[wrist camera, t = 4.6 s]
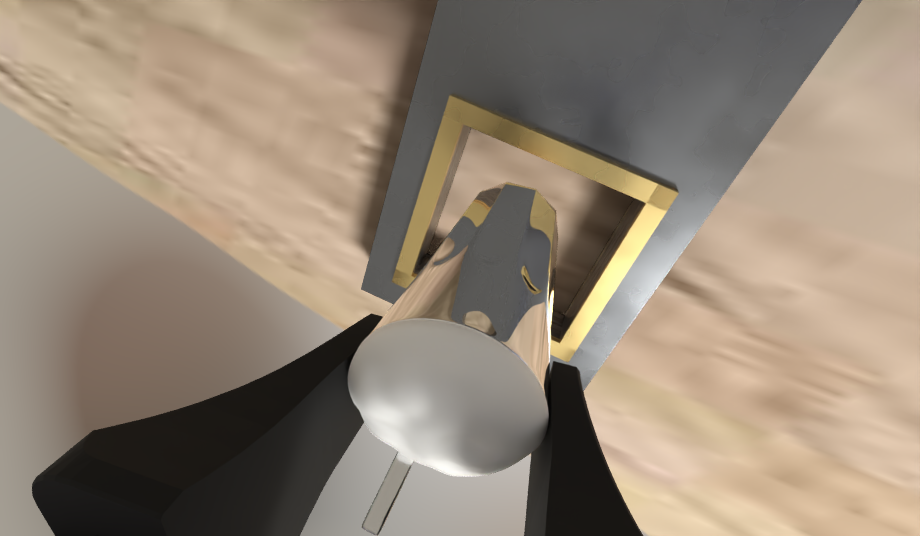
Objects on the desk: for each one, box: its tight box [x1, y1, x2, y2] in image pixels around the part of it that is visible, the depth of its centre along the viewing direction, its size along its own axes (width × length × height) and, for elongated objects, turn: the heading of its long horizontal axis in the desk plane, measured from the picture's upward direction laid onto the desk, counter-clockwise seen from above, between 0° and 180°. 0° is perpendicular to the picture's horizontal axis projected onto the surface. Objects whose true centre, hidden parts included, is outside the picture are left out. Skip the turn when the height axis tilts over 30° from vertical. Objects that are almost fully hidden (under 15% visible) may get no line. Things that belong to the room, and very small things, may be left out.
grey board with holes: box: [361, 0, 862, 391], centre depth 17 cm, size 12×26×2 cm, turn 161°
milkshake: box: [348, 182, 558, 536], centre depth 13 cm, size 4×5×10 cm
